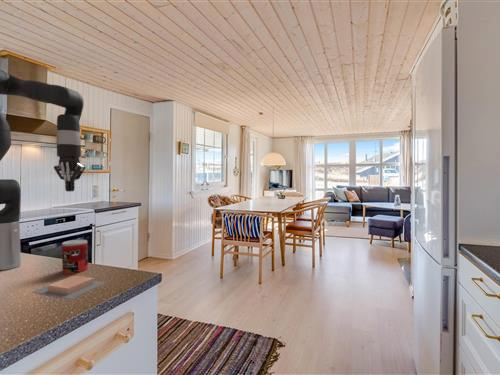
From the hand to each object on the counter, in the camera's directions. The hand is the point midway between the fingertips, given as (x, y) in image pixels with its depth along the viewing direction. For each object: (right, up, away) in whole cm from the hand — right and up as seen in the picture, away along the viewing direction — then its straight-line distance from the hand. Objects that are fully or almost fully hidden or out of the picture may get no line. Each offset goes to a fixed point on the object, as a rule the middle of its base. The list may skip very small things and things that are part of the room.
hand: (70, 191), depth 109 cm
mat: (+11, -30, -18) cm, 37 cm away
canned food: (+3, -29, -2) cm, 30 cm away
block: (+8, -28, -17) cm, 34 cm away
